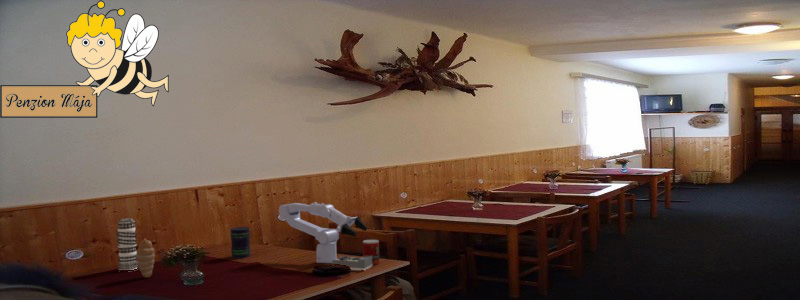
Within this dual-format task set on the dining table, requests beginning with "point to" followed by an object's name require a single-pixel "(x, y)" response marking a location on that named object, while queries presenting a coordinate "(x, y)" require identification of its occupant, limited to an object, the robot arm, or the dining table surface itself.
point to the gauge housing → (356, 262)
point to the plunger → (346, 258)
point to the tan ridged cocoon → (146, 257)
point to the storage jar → (240, 242)
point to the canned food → (371, 250)
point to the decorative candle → (127, 244)
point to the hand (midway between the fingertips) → (361, 232)
